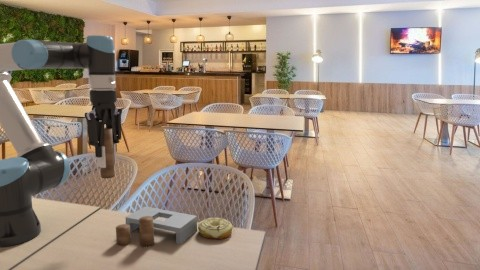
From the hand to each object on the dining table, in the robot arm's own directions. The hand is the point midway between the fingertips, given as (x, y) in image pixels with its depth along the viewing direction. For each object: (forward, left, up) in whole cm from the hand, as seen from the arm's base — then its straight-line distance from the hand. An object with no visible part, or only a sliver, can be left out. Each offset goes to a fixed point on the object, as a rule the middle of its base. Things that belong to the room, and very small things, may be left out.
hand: (107, 165), depth 116 cm
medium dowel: (+16, -3, -22) cm, 27 cm away
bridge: (+15, +6, -22) cm, 27 cm away
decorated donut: (+31, +12, -22) cm, 40 cm away
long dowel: (0, 0, -4) cm, 4 cm away
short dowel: (+9, -5, -22) cm, 24 cm away
